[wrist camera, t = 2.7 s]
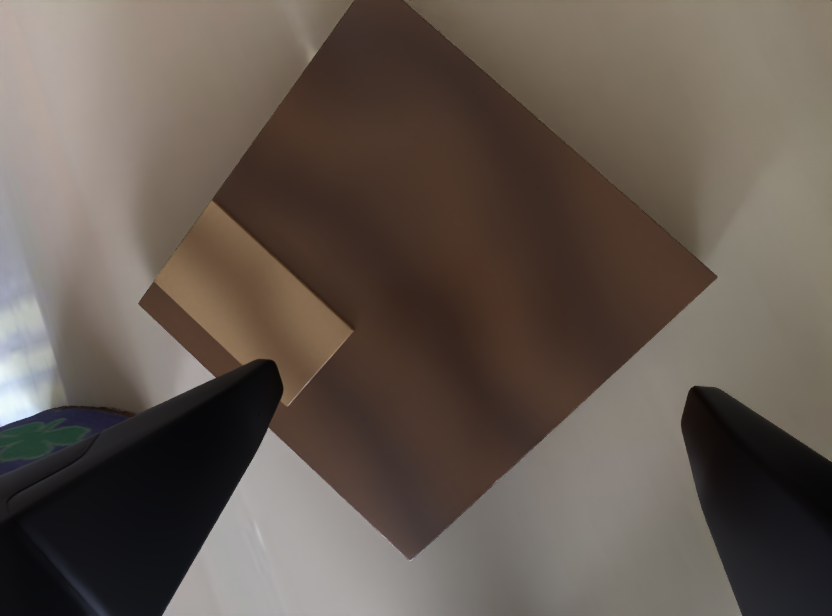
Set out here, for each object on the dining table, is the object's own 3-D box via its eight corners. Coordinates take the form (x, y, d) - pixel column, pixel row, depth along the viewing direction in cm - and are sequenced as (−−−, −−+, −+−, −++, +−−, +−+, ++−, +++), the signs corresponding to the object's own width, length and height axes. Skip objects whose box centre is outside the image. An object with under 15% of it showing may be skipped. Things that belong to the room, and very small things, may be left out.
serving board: (415, 541, 25) (409, 566, 23) (160, 300, 26) (132, 304, 23) (698, 275, 20) (723, 277, 18) (381, -4, 21) (371, -32, 19)
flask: (46, 438, 28) (-210, 543, 18) (44, 397, 28) (-219, 481, 17) (164, 456, 27) (-38, 581, 16) (163, 414, 27) (-44, 515, 16)
